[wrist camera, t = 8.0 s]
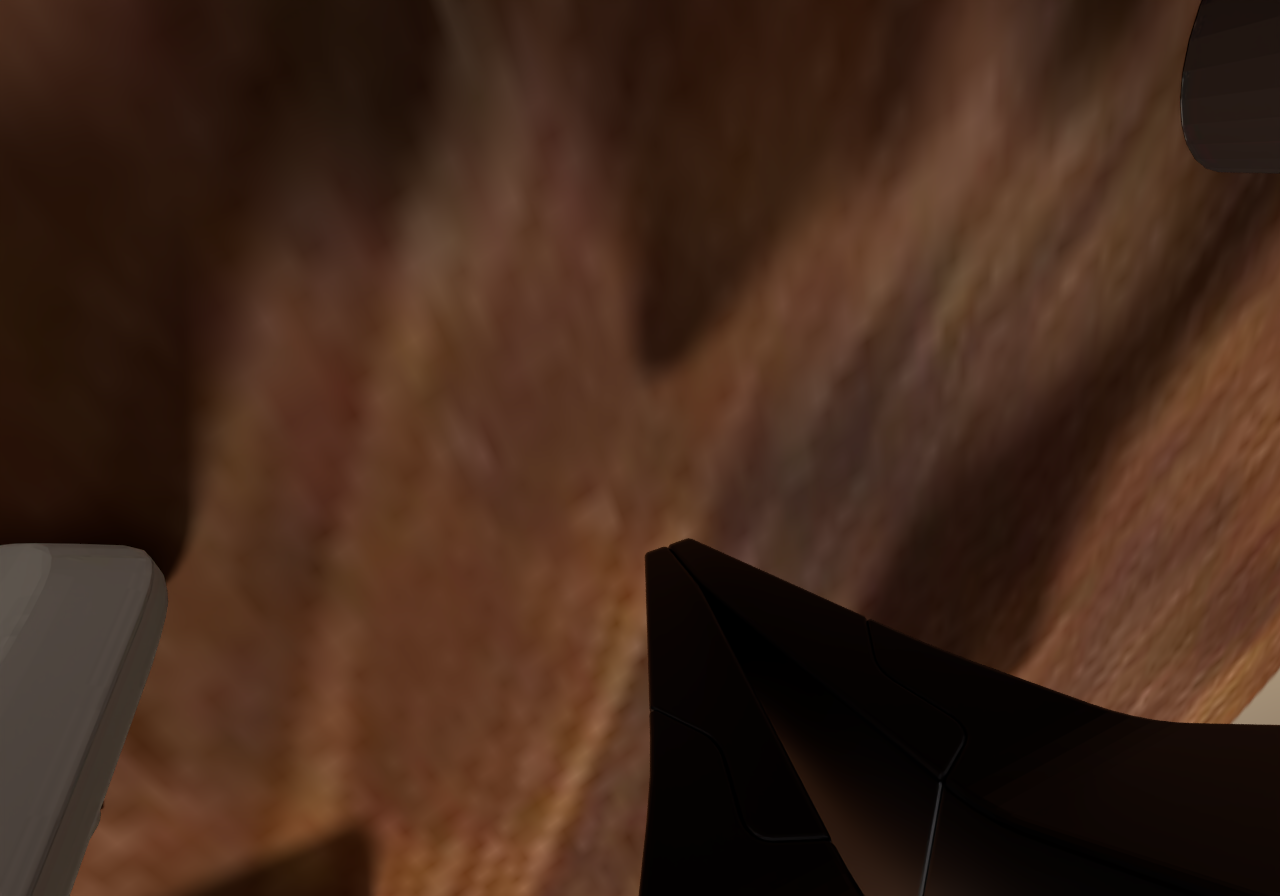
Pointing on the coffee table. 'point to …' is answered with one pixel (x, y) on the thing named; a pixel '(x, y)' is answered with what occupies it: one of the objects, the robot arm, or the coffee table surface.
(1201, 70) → the coffee mug
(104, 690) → the digital clock
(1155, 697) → the coffee table surface
